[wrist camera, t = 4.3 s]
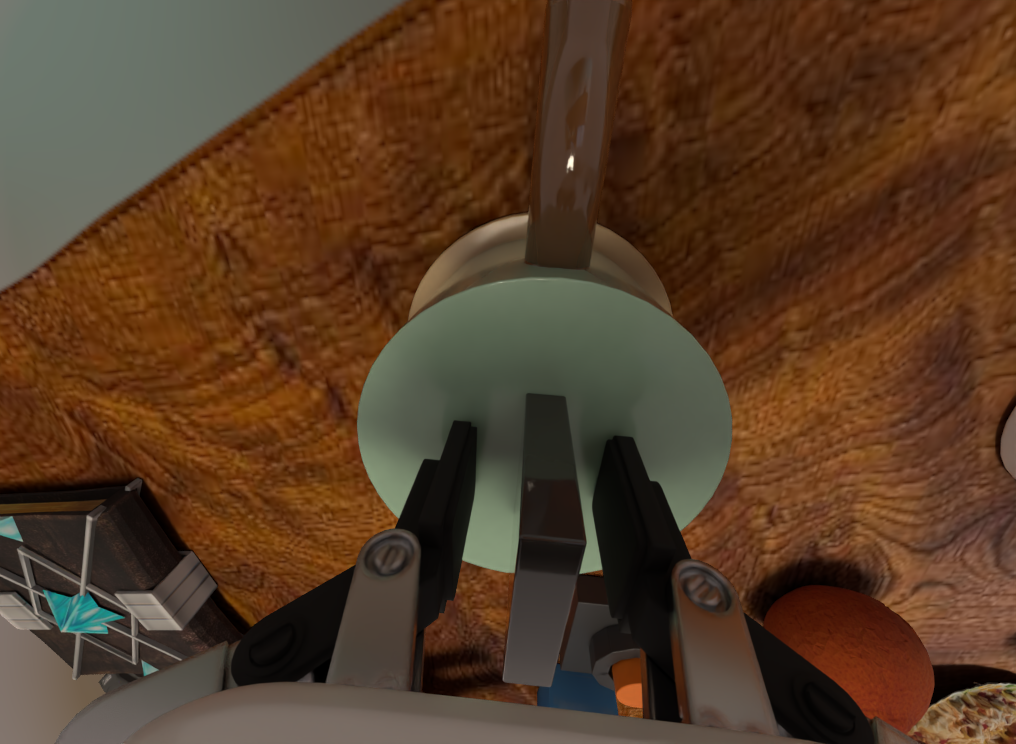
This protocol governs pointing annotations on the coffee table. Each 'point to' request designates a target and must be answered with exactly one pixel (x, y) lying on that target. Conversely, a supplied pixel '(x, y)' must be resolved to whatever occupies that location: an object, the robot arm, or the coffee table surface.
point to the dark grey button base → (594, 634)
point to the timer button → (628, 682)
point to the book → (104, 582)
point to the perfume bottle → (577, 693)
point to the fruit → (858, 650)
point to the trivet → (517, 229)
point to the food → (971, 717)
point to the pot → (549, 364)
